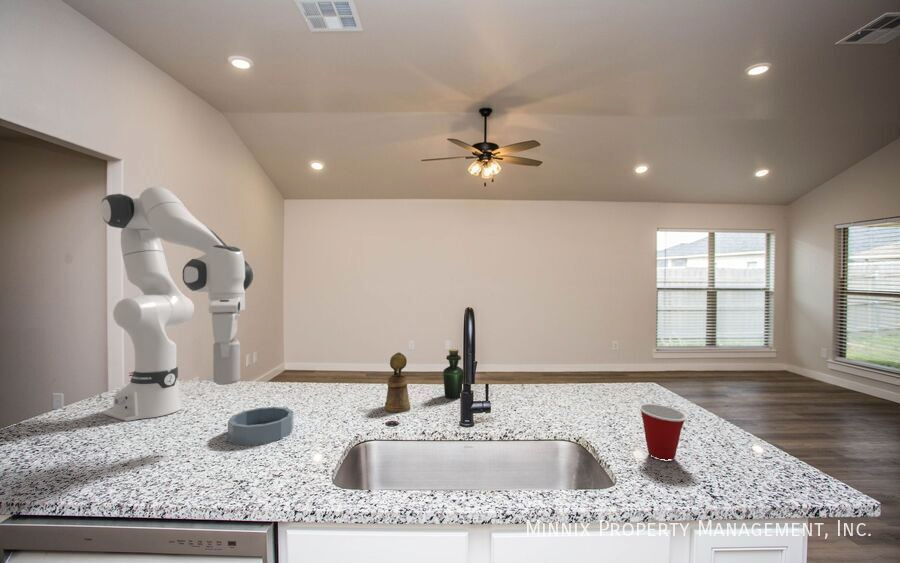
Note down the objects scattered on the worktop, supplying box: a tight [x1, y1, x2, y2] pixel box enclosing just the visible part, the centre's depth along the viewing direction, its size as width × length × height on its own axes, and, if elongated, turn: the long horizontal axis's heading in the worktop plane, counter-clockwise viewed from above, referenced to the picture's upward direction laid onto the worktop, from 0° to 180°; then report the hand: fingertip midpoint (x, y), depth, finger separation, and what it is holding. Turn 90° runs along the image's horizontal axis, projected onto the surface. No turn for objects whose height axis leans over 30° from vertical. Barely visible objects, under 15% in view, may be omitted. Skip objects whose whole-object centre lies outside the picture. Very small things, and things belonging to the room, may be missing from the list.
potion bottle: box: [442, 348, 464, 400], centre depth 150 cm, size 8×8×18 cm
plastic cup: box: [638, 403, 688, 460], centre depth 99 cm, size 11×11×12 cm
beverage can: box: [212, 337, 241, 386], centre depth 107 cm, size 6×6×12 cm
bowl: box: [227, 406, 294, 446], centre depth 112 cm, size 16×16×5 cm
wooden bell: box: [384, 352, 411, 413], centre depth 137 cm, size 9×14×18 cm, turn 5°
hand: (226, 354), depth 107 cm, fingers closed on beverage can, 6 cm apart
